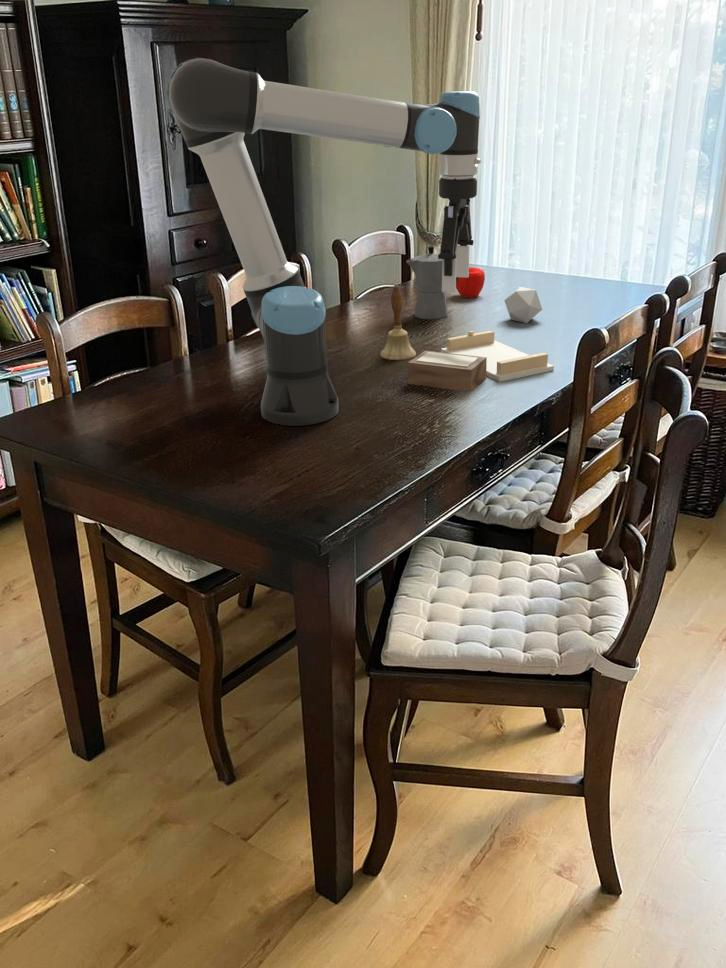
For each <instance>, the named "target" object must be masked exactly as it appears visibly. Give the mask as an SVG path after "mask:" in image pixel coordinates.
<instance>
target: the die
mask: <svg viewBox="0 0 726 968" xmlns="http://www.w3.org/2000/svg"><path fill="white" fill-rule="evenodd" d="M504 303H505V306H506V309H507V312H508V315H509V318H510V320H511V321H516V322H519V323H524V324H527V323H529V322H530V321H531V320H532V319H534V318H535V317H536V316H537V315H538V314H539V313H540V312H542V310H543V307H542V304H541V301H540V298H539V295H538V292H537V290H536V289H534V288H528V287H524V286H523V287H522V286H519V287H518V288H517V289H515V290H514V291H513V292H512V293H511V294H510V295H509V296H507V297H506V298H505V299H504Z"/></svg>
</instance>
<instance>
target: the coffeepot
mask: <svg viewBox="0 0 726 968" xmlns="http://www.w3.org/2000/svg"><path fill="white" fill-rule="evenodd" d="M427 248H428V253H425V254H420V255H416V256H414V257H412V258H409V259H407V260H406V264H407V265H409V267H410V268H411V270H412V271H413V273H414V275H415V278H416V284H417V286H418V287H417V288H418V291H417V297H416V302H415V303H416V304H415V309H414V317H415V318H418V319H421V320H441V319H444V318H446V317H447V316H448V313H449V309H448V305H447V299H446V298H447V297H446V292H442V259H438V254H439V253H435V252H434V250H435V246H433V245H429V246H428V247H427ZM455 259H456V257H455ZM458 278H459V277H456V284H457V281H458Z"/></svg>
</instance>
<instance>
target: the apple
mask: <svg viewBox="0 0 726 968" xmlns="http://www.w3.org/2000/svg"><path fill="white" fill-rule="evenodd" d="M485 274H486V273H485V271H484V270H483V269H481V268H478V267H474V266H473V267H471V266H469V277H468V278H465V277H459V278H458V281H457V284H456V291H457V293H458V294H459V295H460V296H461V297H462V298H467V299H474V298H476V297H478V296H479V295H480V294H481V292H482V290H483V288H484V285H485V279H486V275H485Z"/></svg>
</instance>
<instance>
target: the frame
mask: <svg viewBox="0 0 726 968" xmlns="http://www.w3.org/2000/svg"><path fill="white" fill-rule="evenodd" d="M486 363H487V357H479V356H470V355H461V354H452V353H443V352H441V351H435V350H434V351H433V350H432V351H431V350H424V351H422V352H421V353H419V354H418V355H416V356H415V357H413V358H411V360H410V361H408V362H407V374H408V375H407V376H408V377H407V380H408V381H407V384H408V385H413V384H414V385H415V386H421V385H422V386H421V387H429V388H437V389H438V388H439V389H444V390H452V391H460V392H468V393H472V392H473V391H474V390H475V389H476V388H477V387H478V386H480V385H481V384H482V383H483V382H484V381H486V379H487V375H486ZM414 385H413V386H414Z"/></svg>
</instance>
